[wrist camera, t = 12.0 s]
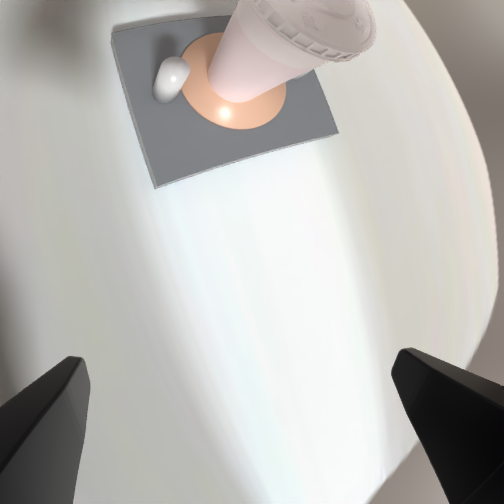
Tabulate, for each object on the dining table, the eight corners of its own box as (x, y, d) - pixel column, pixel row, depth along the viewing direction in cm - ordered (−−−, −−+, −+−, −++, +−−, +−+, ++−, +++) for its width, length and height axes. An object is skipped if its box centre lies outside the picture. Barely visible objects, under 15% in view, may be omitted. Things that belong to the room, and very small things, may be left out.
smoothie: (293, 102, 20) (467, 14, 7) (219, 138, 18) (407, 12, 5) (247, 31, 18) (381, -93, 6) (168, 57, 16) (276, -124, 4)
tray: (154, 189, 18) (166, 176, 14) (110, 42, 16) (114, 5, 12) (329, 136, 23) (366, 123, 19) (281, 22, 21) (308, -4, 17)
